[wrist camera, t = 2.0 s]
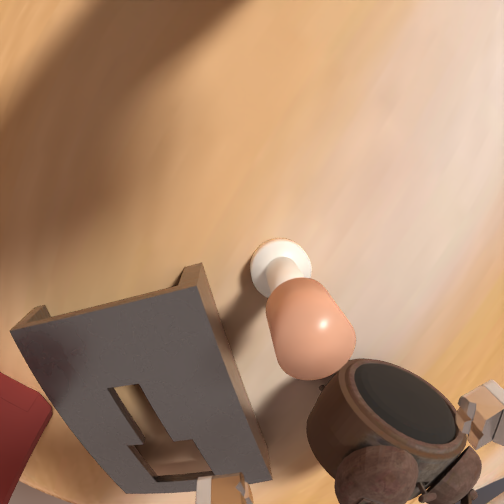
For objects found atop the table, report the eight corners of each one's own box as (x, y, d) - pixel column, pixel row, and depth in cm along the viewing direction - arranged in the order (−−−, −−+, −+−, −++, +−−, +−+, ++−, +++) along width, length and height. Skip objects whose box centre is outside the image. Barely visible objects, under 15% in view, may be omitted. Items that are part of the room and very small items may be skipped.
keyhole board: (132, 464, 33) (125, 493, 29) (34, 307, 26) (9, 330, 22) (267, 447, 33) (272, 479, 29) (202, 262, 26) (196, 285, 22)
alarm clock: (425, 356, 31) (527, 479, 12) (392, 405, 33) (467, 532, 14) (318, 326, 29) (411, 515, 10) (285, 385, 31) (332, 567, 12)
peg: (243, 246, 26) (256, 320, 14) (300, 231, 26) (358, 291, 14) (257, 299, 28) (279, 396, 16) (311, 284, 28) (366, 369, 16)
